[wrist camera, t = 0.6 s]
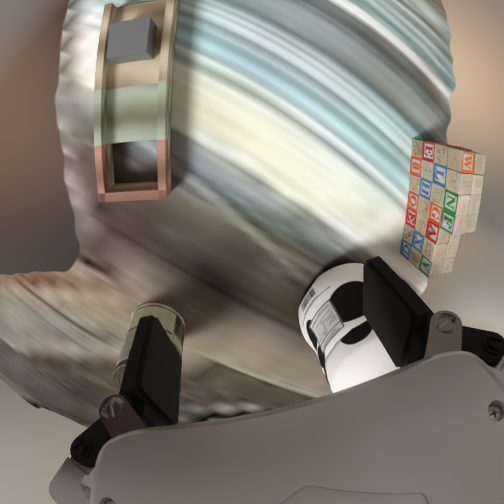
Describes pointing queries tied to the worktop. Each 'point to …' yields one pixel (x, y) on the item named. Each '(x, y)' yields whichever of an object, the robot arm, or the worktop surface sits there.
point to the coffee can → (169, 322)
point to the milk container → (342, 328)
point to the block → (132, 40)
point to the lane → (135, 101)
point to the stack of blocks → (440, 203)
